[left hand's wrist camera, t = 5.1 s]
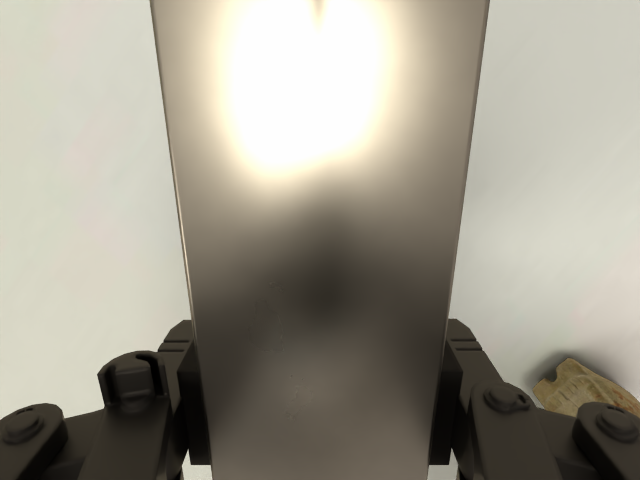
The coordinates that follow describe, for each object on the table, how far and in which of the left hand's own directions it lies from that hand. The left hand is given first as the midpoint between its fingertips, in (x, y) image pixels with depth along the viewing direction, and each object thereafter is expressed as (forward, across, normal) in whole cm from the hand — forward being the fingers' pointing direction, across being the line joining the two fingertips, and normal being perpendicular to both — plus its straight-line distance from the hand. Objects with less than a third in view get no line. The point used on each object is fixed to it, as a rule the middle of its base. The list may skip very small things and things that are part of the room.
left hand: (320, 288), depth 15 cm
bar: (+1, 0, -9) cm, 9 cm away
